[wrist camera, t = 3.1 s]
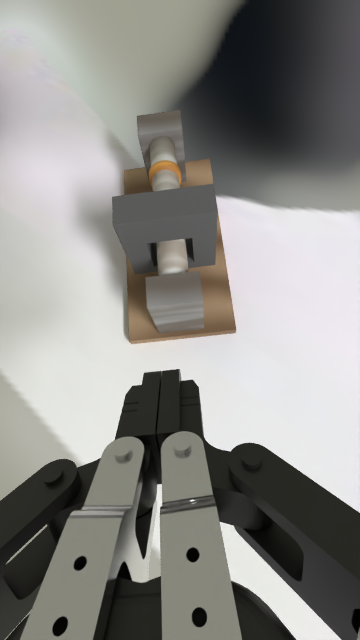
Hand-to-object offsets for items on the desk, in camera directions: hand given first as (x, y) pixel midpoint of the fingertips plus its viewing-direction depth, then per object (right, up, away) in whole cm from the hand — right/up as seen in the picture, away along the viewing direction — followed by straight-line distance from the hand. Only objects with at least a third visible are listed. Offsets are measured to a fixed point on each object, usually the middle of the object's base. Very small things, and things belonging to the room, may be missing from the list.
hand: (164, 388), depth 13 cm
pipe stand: (0, +12, +27) cm, 30 cm away
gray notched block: (0, +10, +22) cm, 24 cm away
